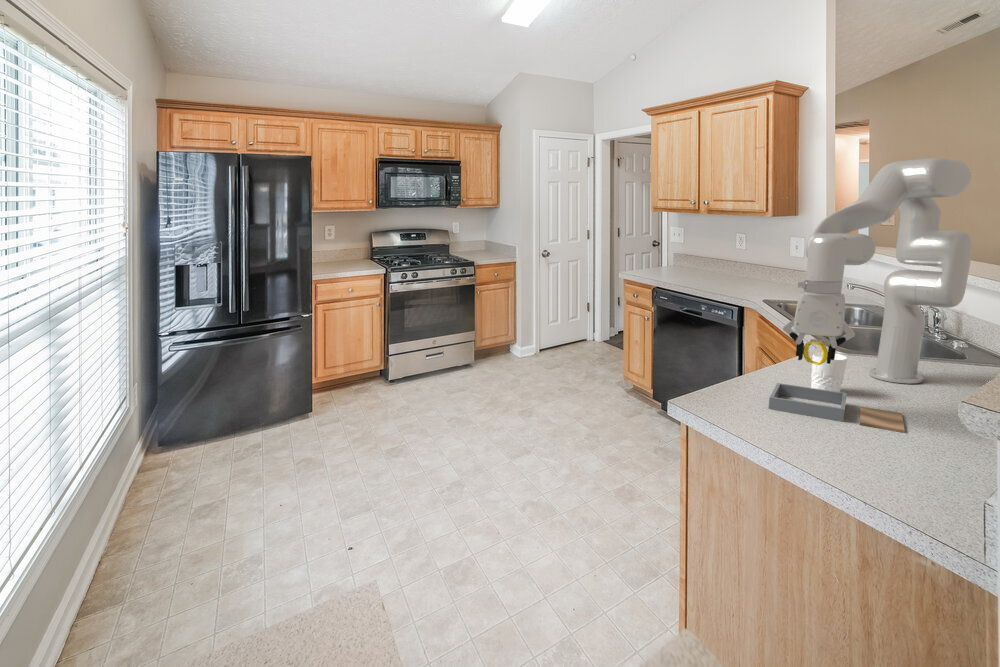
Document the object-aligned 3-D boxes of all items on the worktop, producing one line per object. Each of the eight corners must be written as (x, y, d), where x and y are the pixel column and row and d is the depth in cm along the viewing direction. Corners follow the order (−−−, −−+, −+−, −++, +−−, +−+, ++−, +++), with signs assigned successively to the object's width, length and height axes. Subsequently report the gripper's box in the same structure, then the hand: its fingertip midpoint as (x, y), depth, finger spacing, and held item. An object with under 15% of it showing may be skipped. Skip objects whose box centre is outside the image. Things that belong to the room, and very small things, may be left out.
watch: (828, 367, 122) (832, 343, 120) (819, 368, 121) (823, 344, 120) (807, 358, 128) (812, 336, 126) (799, 359, 127) (803, 337, 125)
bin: (776, 393, 137) (777, 382, 136) (845, 404, 128) (846, 393, 127) (768, 408, 126) (769, 397, 125) (843, 421, 117) (844, 409, 116)
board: (860, 408, 125) (860, 406, 124) (901, 415, 120) (901, 413, 120) (859, 424, 115) (860, 422, 115) (904, 432, 110) (904, 430, 110)
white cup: (847, 396, 133) (852, 360, 131) (815, 395, 135) (819, 359, 133) (834, 387, 141) (839, 352, 139) (804, 385, 142) (808, 351, 140)
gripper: (780, 287, 122) (773, 359, 126) (866, 292, 112) (856, 369, 116) (784, 284, 128) (777, 352, 132) (866, 288, 118) (856, 362, 122)
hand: (814, 359), depth 124 cm, fingers closed on watch, 5 cm apart
